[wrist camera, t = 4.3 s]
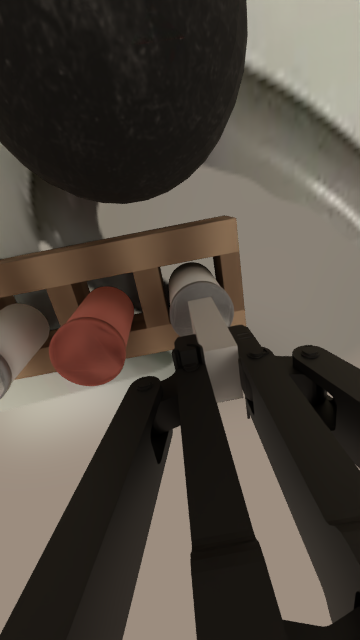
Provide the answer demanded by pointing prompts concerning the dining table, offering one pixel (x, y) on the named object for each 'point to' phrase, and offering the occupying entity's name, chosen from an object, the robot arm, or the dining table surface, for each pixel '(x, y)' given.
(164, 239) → the board
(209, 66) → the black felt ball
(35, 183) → the dining table surface
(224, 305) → the grey plug
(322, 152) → the dining table surface
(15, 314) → the grey plug
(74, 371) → the plug red
